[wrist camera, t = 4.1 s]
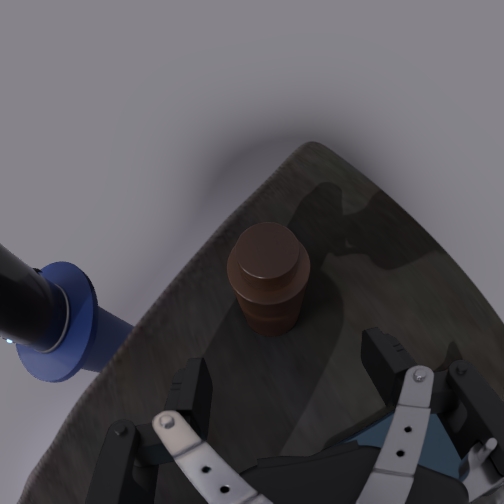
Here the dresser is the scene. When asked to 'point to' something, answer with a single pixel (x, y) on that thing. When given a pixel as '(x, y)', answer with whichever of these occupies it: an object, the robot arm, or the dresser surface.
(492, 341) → the dresser surface
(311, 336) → the dresser surface
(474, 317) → the dresser surface
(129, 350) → the dresser surface
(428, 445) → the corner mat
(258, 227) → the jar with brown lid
